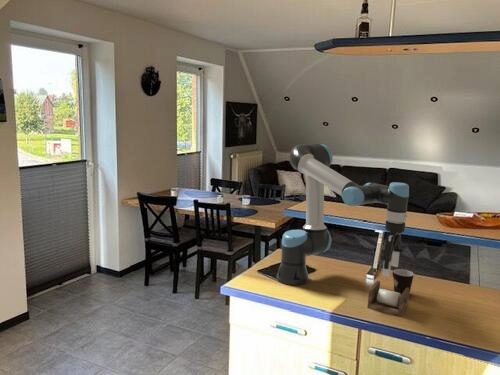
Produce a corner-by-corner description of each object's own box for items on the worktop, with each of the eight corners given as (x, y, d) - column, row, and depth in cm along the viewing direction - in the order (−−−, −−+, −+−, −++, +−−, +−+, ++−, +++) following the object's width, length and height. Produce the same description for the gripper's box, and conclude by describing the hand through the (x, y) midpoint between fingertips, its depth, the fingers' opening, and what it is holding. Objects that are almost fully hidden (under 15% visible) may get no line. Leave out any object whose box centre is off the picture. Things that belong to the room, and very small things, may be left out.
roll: (376, 302, 174) (378, 288, 175) (379, 302, 179) (382, 288, 180) (395, 307, 169) (398, 292, 170) (398, 307, 174) (401, 293, 175)
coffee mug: (413, 298, 184) (415, 277, 182) (392, 296, 186) (394, 275, 184) (408, 288, 195) (410, 268, 194) (389, 286, 197) (391, 266, 195)
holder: (366, 307, 174) (368, 289, 173) (374, 297, 184) (376, 280, 183) (401, 317, 166) (403, 298, 165) (408, 306, 176) (410, 288, 175)
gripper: (397, 229, 157) (391, 282, 160) (412, 216, 177) (406, 264, 181) (377, 225, 161) (372, 278, 164) (394, 214, 181) (389, 260, 185)
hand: (390, 271), depth 173 cm, fingers open, 13 cm apart
